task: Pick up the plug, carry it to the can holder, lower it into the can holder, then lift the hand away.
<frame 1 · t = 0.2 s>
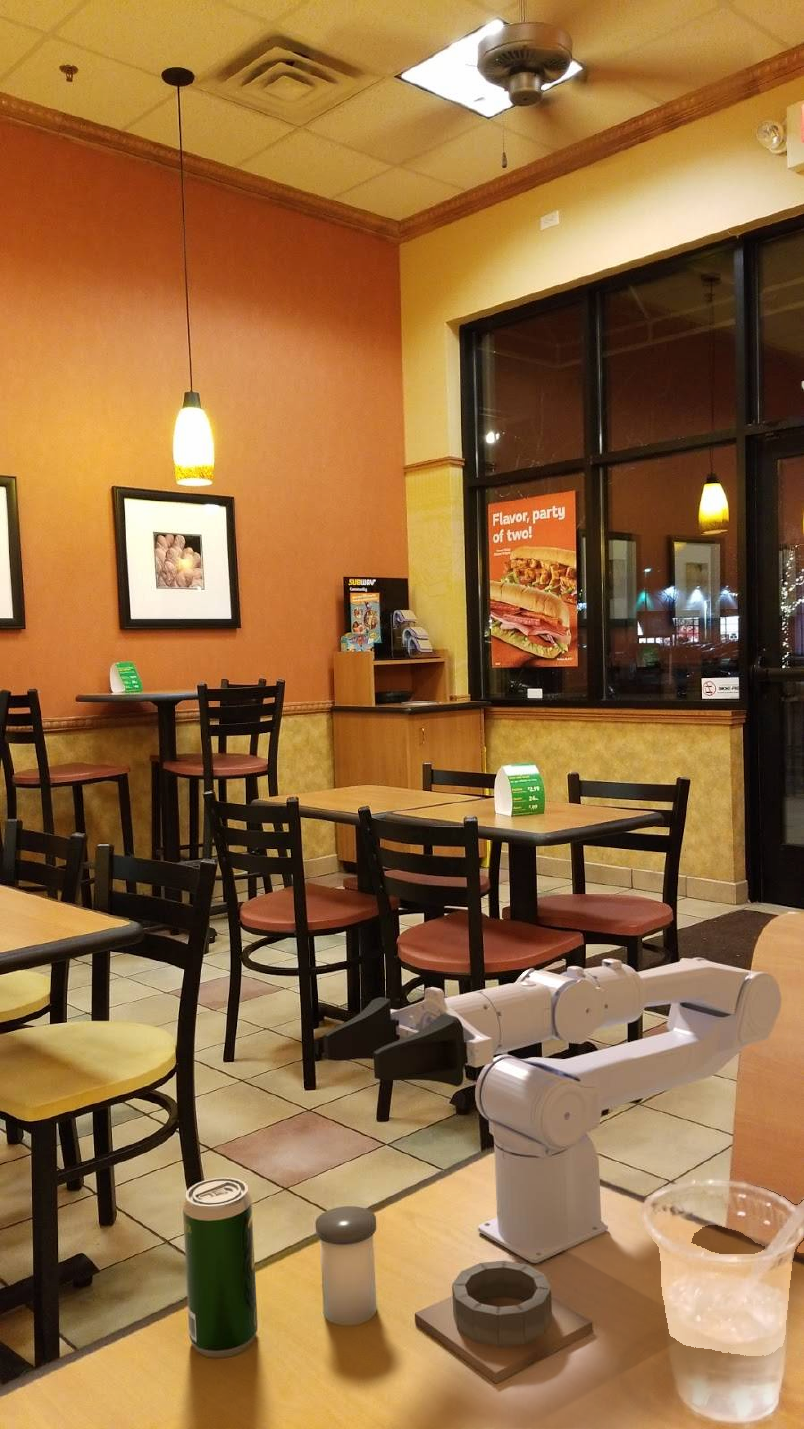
hand: (350, 1056, 91), 21 cm above the table, tool horizontal, fingers open, 7 cm apart
plug: (350, 1309, 92), on the table
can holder: (502, 1327, 88), on the table
green guarana soda can: (224, 1342, 88), on the table
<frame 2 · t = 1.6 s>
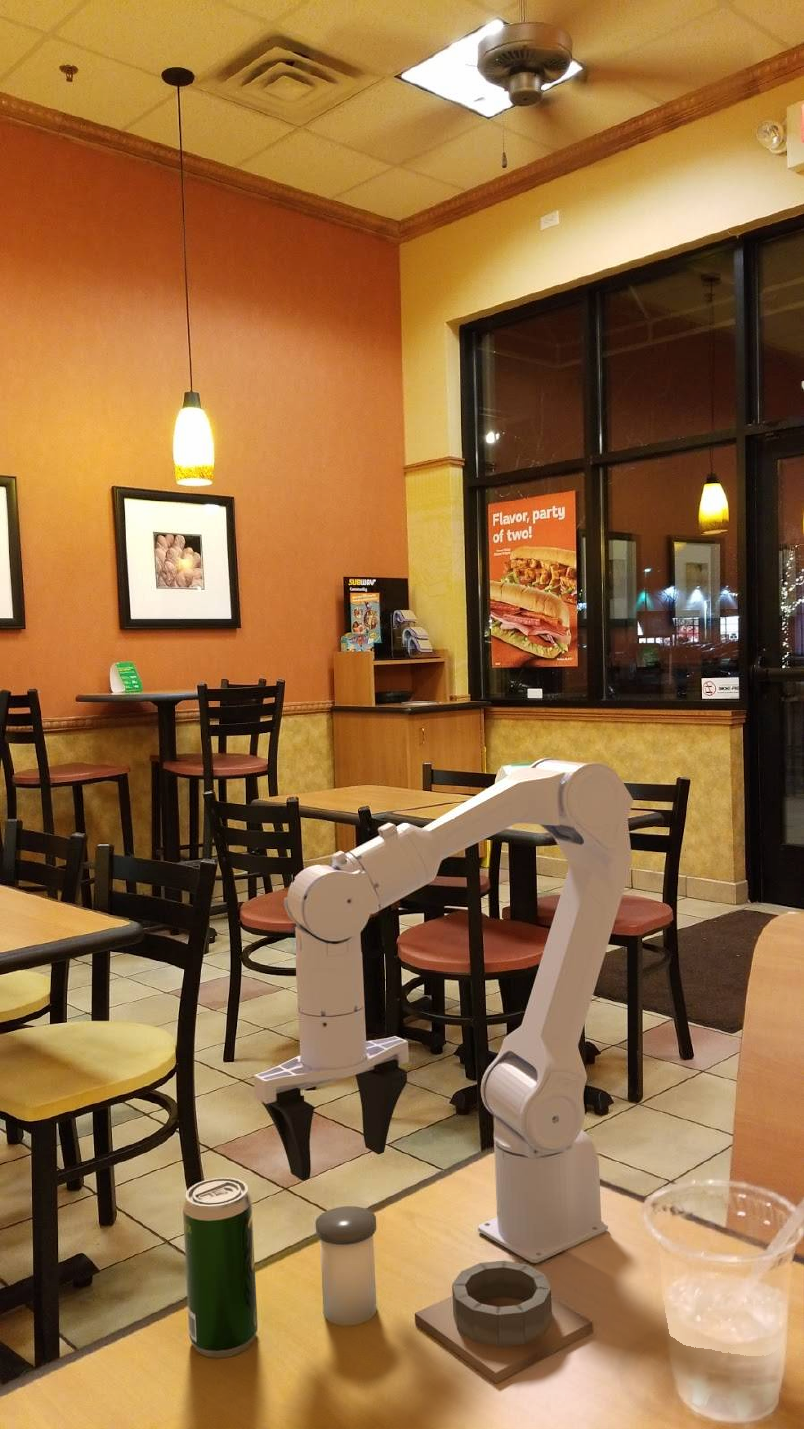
hand: (338, 1162, 96), 10 cm above the table, tool pointing down, fingers open, 7 cm apart
nothing on the table moved.
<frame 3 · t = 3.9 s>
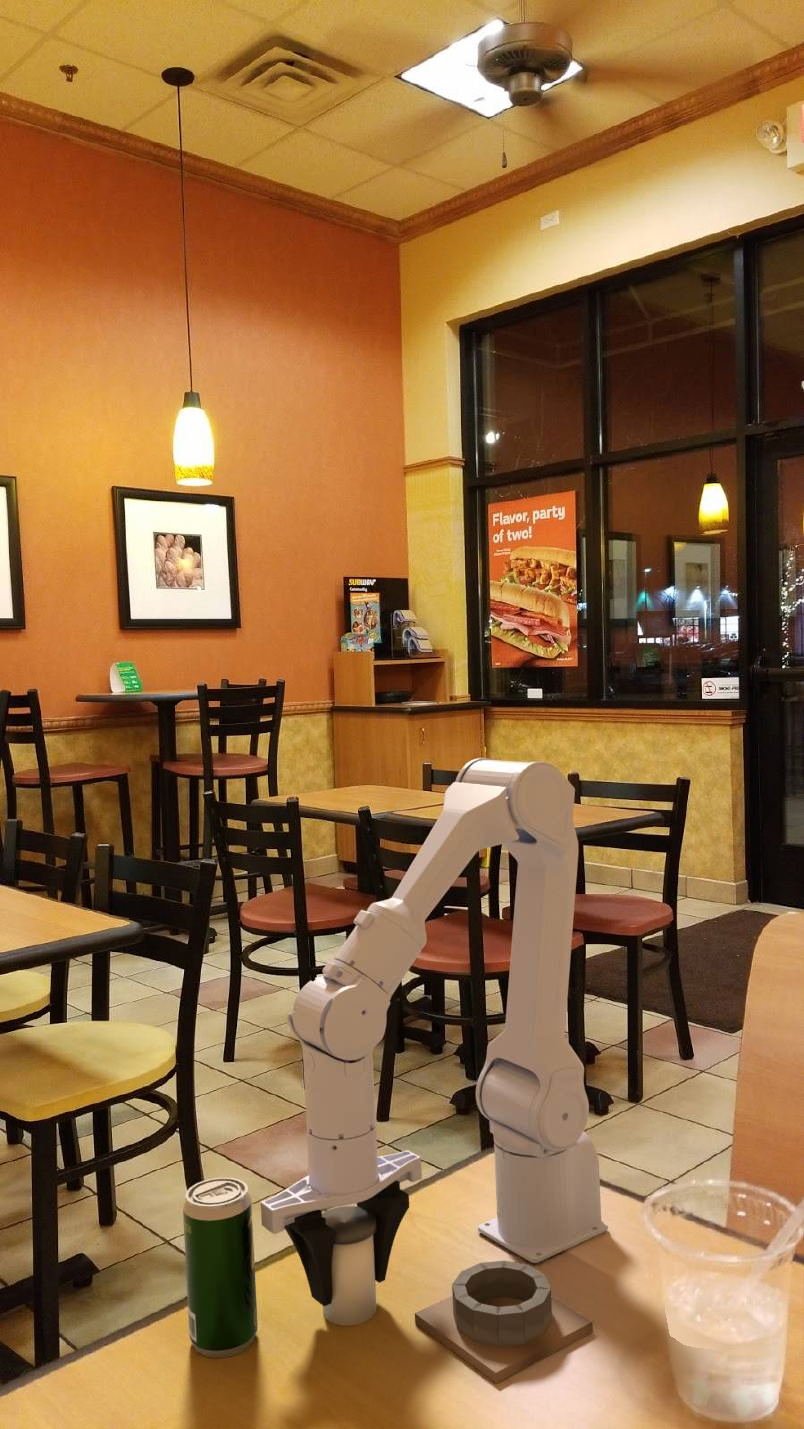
hand: (348, 1288, 92), 2 cm above the table, tool pointing down, fingers closed on plug, 5 cm apart
plug: (349, 1309, 92), on the table, touching gripper
everything else where it was.
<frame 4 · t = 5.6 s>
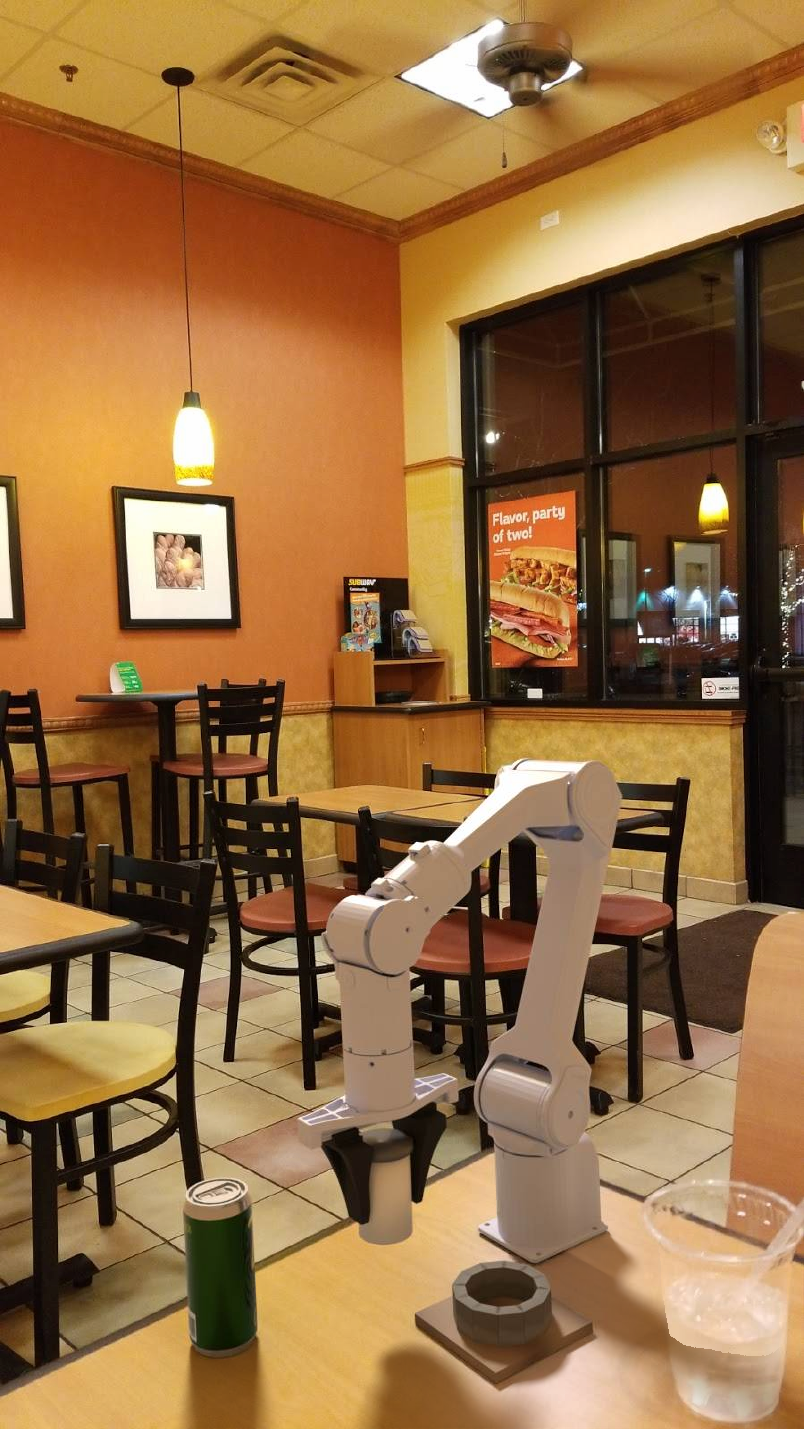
hand: (385, 1208, 91), 9 cm above the table, tool pointing down, fingers closed on plug, 5 cm apart
plug: (385, 1231, 91), point 7 cm above the table, touching gripper
everything else where it was.
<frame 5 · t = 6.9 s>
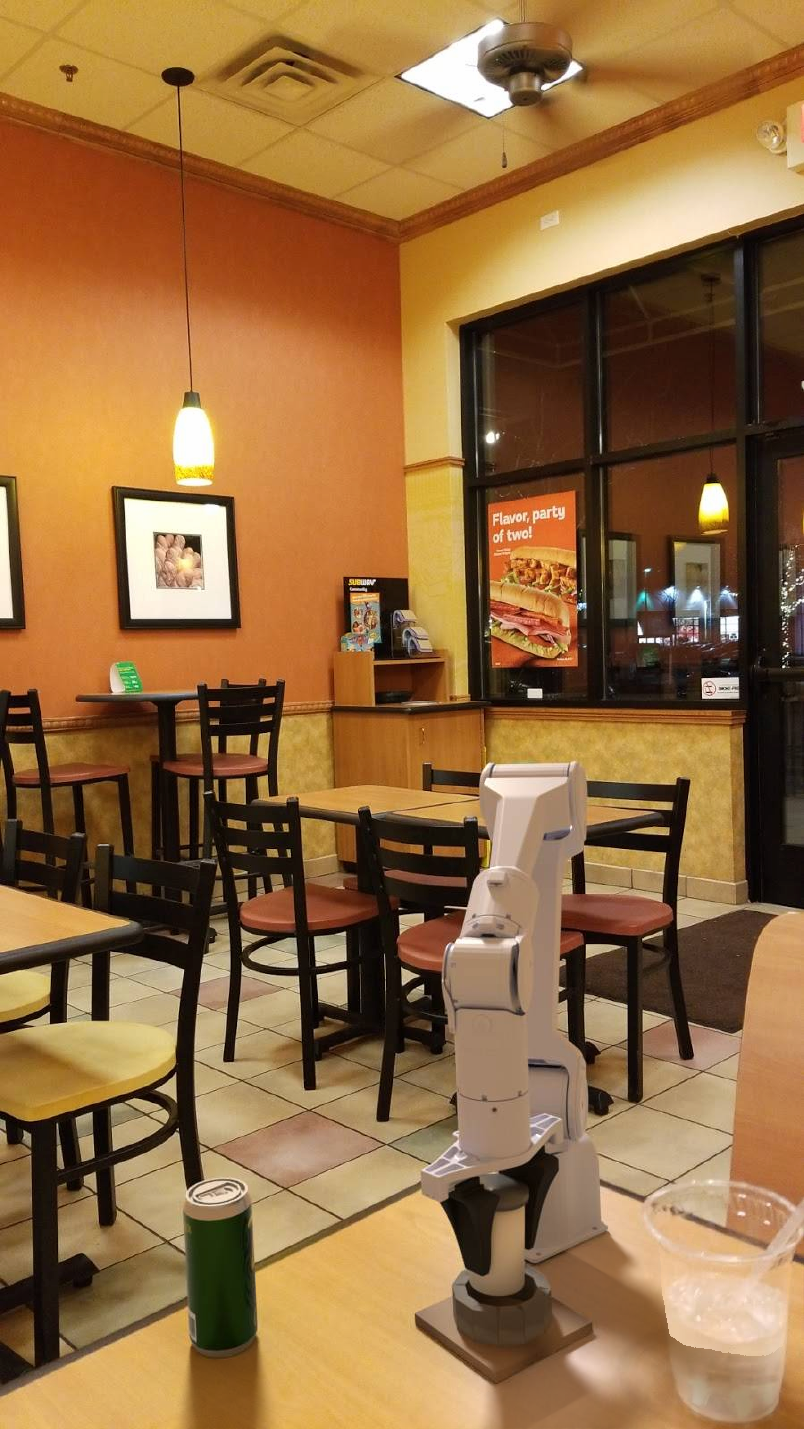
hand: (499, 1257, 88), 6 cm above the table, tool pointing down, fingers closed on plug, 5 cm apart
plug: (496, 1280, 88), point 4 cm above the table, touching gripper
everything else where it was.
when the fingers open (4 cm above the table, at t = 7.6 s): plug drops 2 cm, resting on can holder.
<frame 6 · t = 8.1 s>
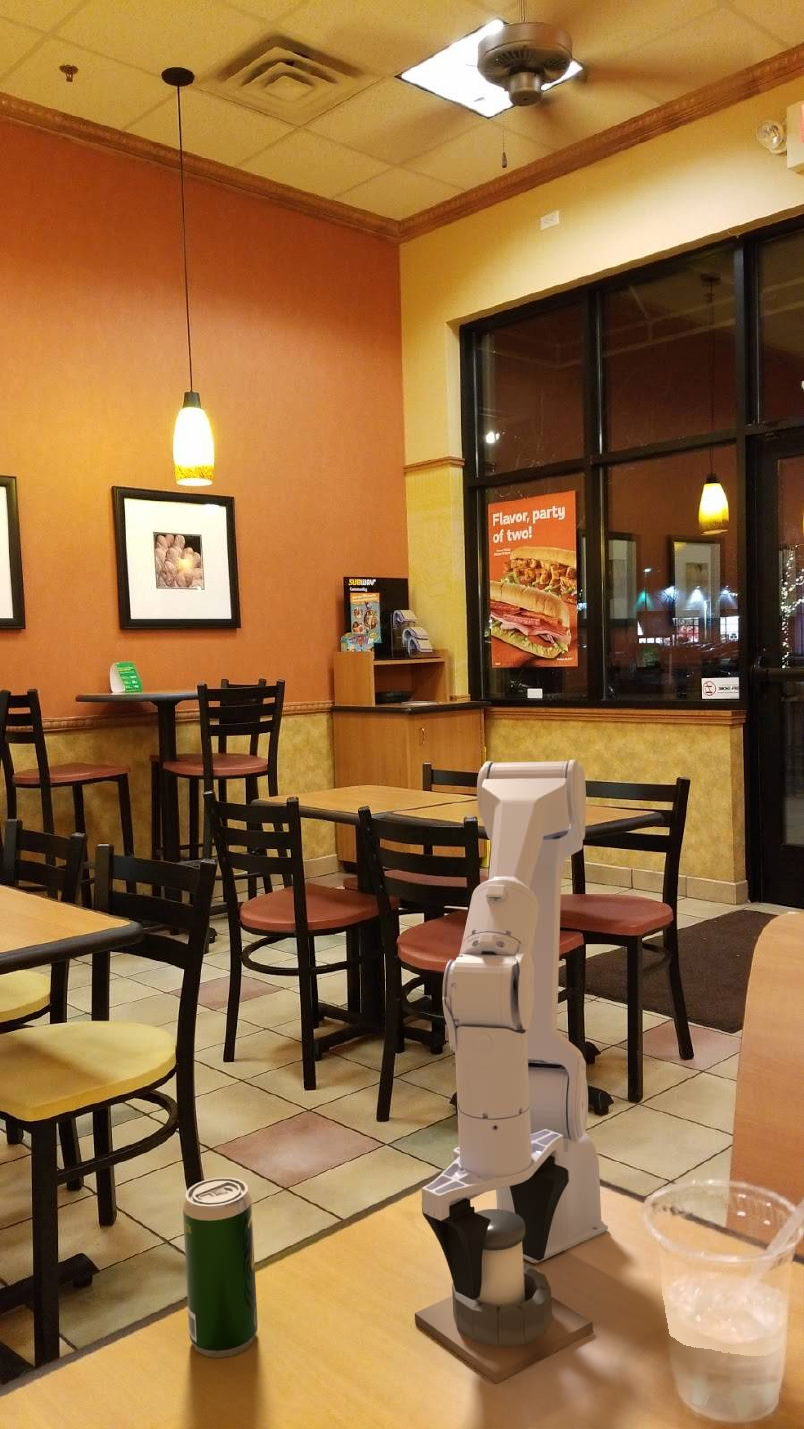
hand: (500, 1274, 88), 4 cm above the table, tool pointing down, fingers open, 7 cm apart
plug: (498, 1316, 89), point 1 cm above the table, touching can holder
everything else where it was.
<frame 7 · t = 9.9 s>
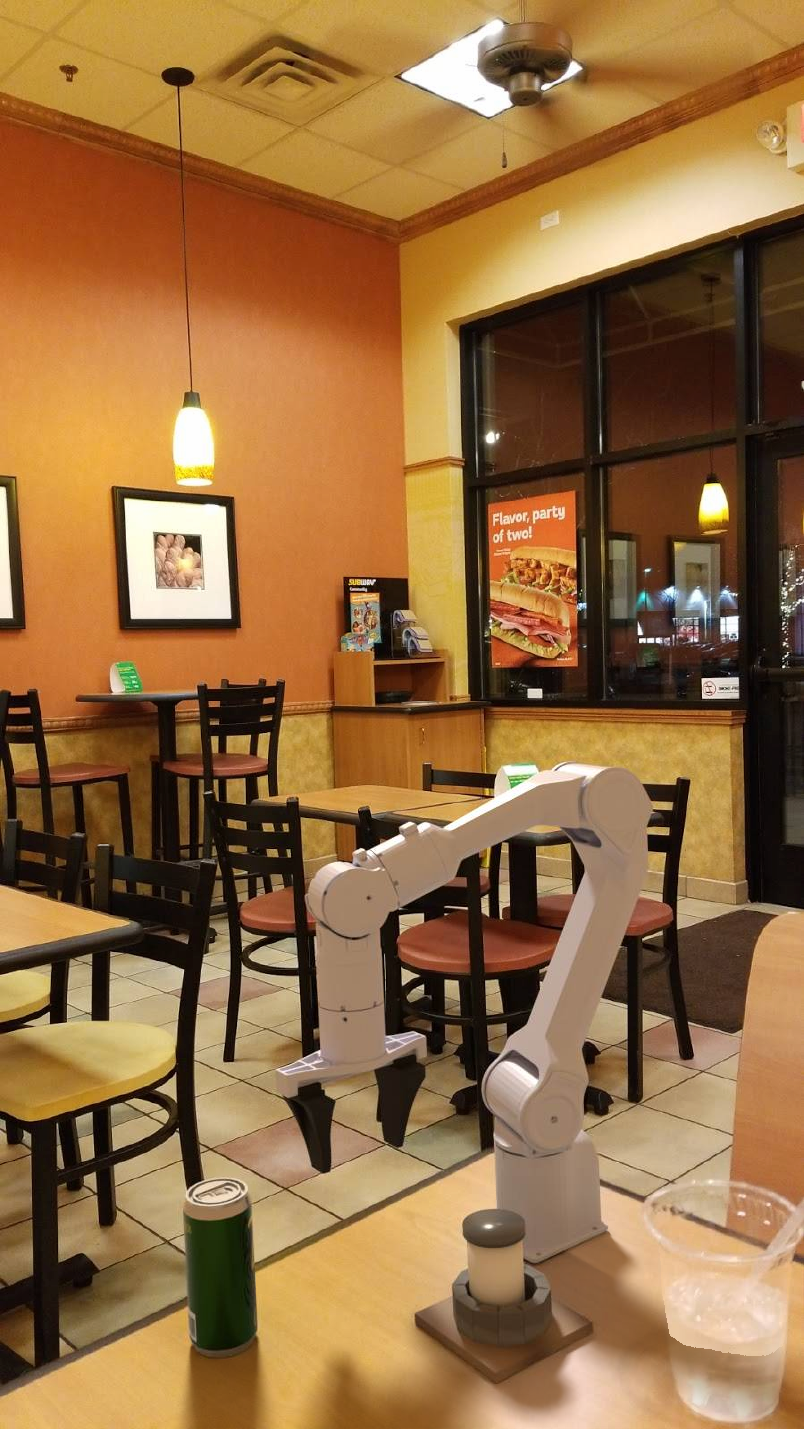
hand: (358, 1156, 97), 10 cm above the table, tool pointing down, fingers open, 7 cm apart
nothing on the table moved.
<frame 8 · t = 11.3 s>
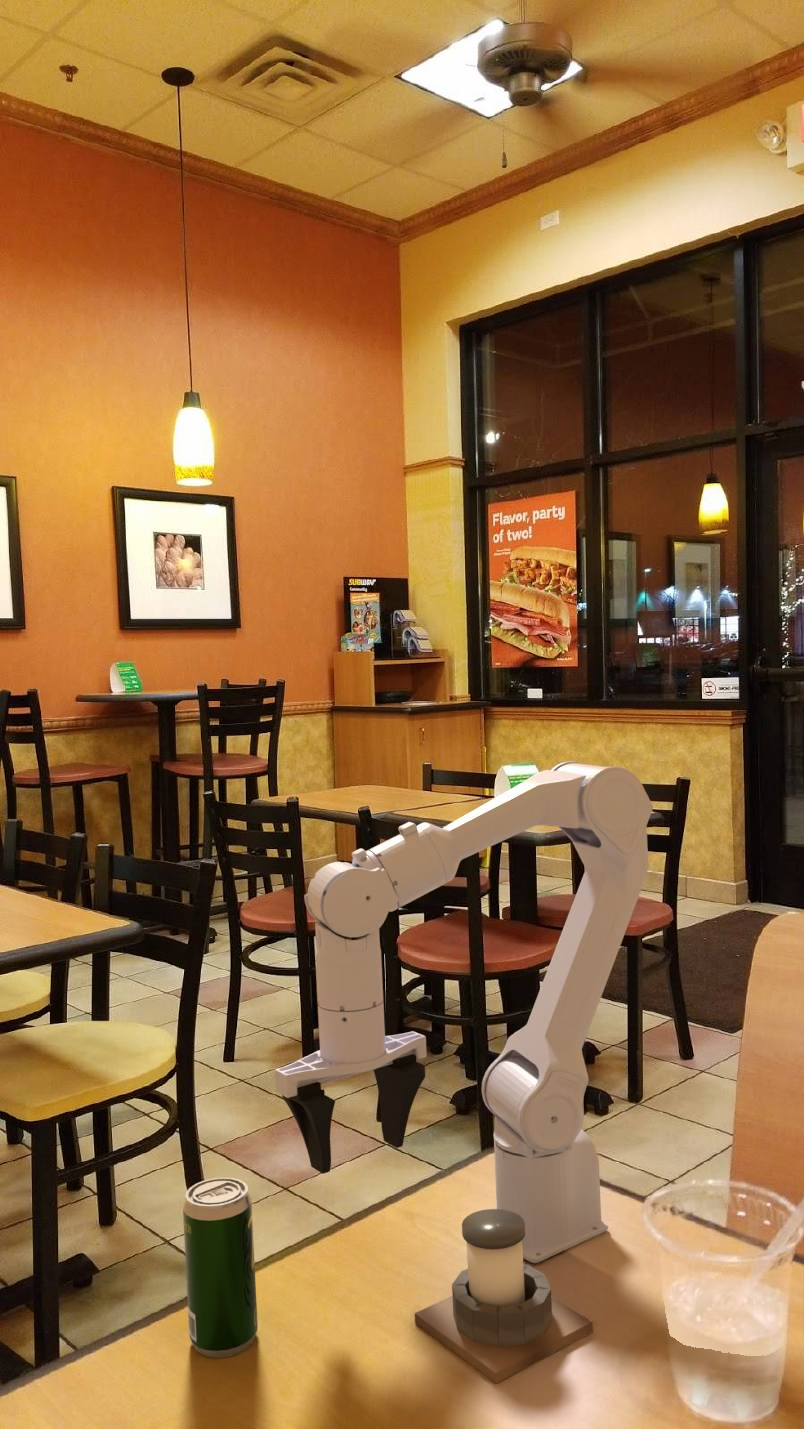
hand: (357, 1156, 97), 10 cm above the table, tool pointing down, fingers open, 7 cm apart
nothing on the table moved.
at the end: plug 0.3 cm off-centre on the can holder, point 0.8 cm above the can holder's base; plug tilted 1°; the gripper is holding nothing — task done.
